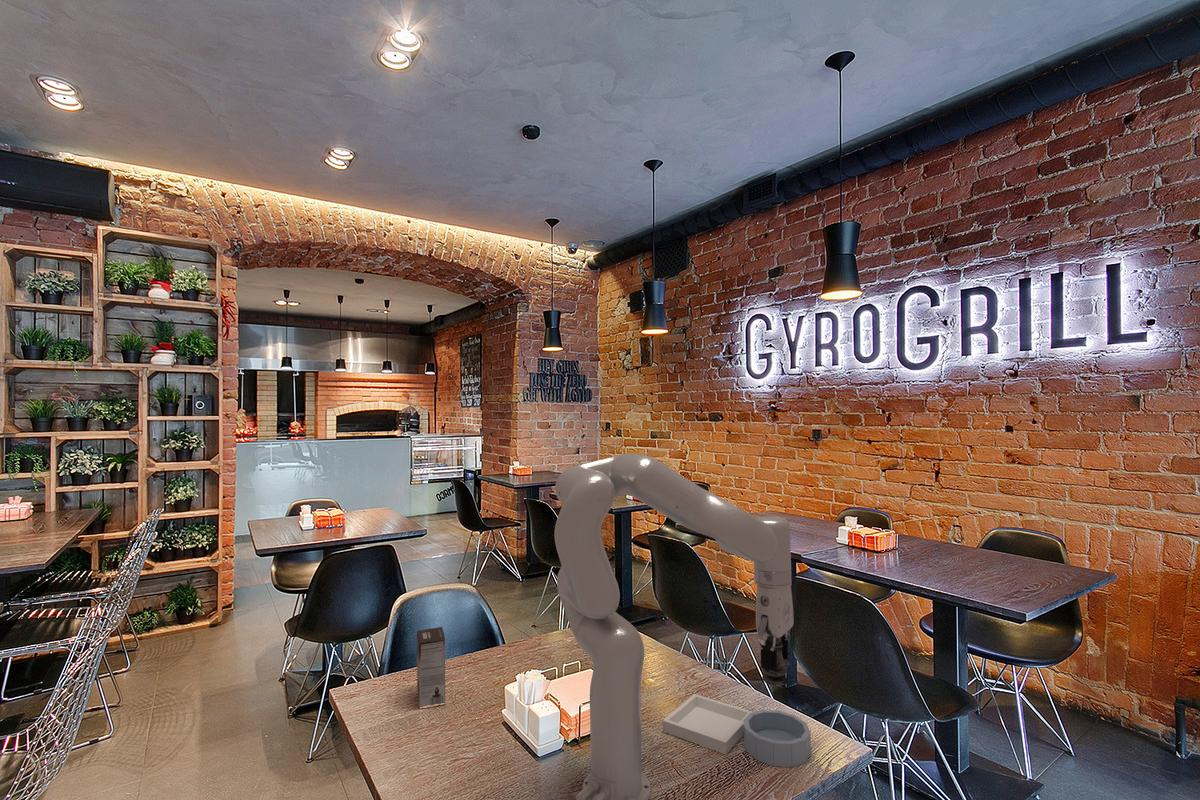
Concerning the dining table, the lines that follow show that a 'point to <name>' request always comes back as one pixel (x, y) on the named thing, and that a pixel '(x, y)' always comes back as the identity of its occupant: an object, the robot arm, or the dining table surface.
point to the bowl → (777, 738)
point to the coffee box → (431, 666)
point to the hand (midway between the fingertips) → (774, 662)
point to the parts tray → (707, 723)
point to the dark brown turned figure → (782, 666)
